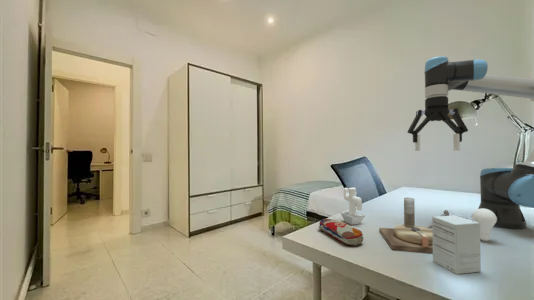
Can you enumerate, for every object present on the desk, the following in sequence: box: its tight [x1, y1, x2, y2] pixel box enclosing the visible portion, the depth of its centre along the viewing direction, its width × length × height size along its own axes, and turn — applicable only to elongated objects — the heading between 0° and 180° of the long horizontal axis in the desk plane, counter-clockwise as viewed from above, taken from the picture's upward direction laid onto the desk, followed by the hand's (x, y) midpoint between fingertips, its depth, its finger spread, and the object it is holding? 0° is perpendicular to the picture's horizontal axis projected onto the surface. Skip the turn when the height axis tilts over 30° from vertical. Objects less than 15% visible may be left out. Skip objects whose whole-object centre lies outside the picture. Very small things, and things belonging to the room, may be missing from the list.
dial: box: [393, 197, 433, 244], centre depth 79 cm, size 13×13×12 cm
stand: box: [378, 227, 433, 254], centre depth 79 cm, size 19×17×2 cm
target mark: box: [422, 236, 428, 247], centre depth 72 cm, size 1×1×3 cm
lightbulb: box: [471, 208, 497, 242], centre depth 80 cm, size 6×6×11 cm
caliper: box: [424, 209, 450, 229], centre depth 93 cm, size 21×1×6 cm, turn 119°
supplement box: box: [431, 214, 482, 275], centre depth 63 cm, size 7×7×13 cm
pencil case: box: [318, 218, 364, 247], centre depth 85 cm, size 11×20×5 cm, turn 4°
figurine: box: [340, 187, 366, 226], centre depth 101 cm, size 7×9×15 cm
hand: (436, 150), depth 94 cm, fingers open, 13 cm apart
